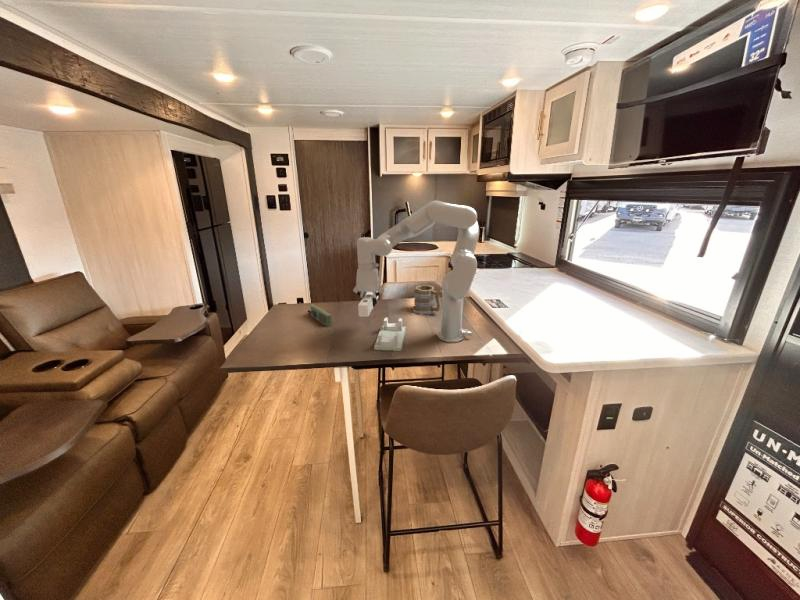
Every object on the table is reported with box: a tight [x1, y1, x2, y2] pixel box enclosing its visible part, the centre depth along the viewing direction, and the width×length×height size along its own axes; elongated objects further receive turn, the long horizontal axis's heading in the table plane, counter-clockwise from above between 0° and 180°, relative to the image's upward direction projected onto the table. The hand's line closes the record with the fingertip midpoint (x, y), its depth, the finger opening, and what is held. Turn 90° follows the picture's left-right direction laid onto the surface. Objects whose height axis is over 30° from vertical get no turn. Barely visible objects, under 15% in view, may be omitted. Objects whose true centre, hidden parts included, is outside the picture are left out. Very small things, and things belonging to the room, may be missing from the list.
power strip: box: [357, 290, 379, 318], centre depth 141 cm, size 4×24×5 cm, turn 173°
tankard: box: [412, 284, 442, 316], centre depth 175 cm, size 20×13×15 cm, turn 43°
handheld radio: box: [307, 304, 333, 328], centre depth 167 cm, size 7×3×25 cm
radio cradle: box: [373, 317, 407, 352], centre depth 145 cm, size 12×22×6 cm, turn 174°
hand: (369, 305), depth 142 cm, fingers closed on power strip, 4 cm apart
